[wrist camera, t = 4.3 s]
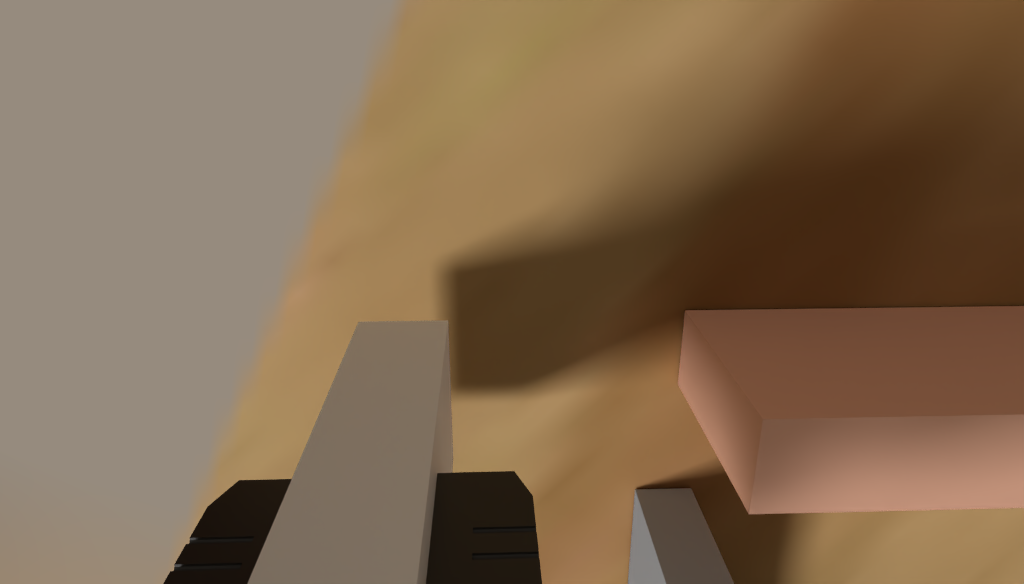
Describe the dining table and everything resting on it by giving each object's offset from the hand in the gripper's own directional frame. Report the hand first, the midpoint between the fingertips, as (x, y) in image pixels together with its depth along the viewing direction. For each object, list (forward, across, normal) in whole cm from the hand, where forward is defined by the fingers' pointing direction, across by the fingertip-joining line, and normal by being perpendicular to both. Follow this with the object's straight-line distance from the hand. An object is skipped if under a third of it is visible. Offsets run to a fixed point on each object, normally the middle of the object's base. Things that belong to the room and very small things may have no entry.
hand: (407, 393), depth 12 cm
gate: (+2, -11, 0) cm, 11 cm away
